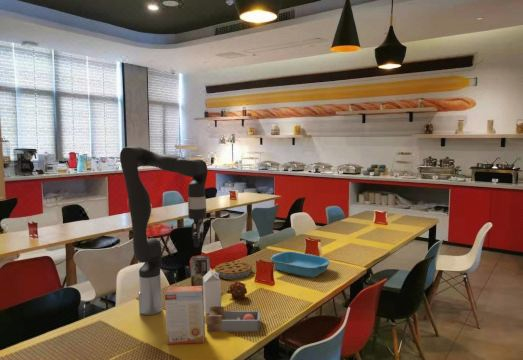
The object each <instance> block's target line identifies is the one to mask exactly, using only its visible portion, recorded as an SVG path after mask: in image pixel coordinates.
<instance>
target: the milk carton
mask: <svg viewBox="0 0 523 360" xmlns="http://www.w3.org/2000/svg"><path fill="white" fill-rule="evenodd" d="M218 275H219V274H218V273H217V272H215V271H213V270H212V268H211V267H210V271H209V272H208V273H207V274H206V275H204V276H203V296H204V315H209V314H210V307H218V306H222V293H221V292H222V288H221V287H222V284H221V283H222V282H221V277H219V276H218Z"/></svg>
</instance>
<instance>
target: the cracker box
mask: <svg viewBox="0 0 523 360" xmlns="http://www.w3.org/2000/svg"><path fill="white" fill-rule="evenodd" d="M164 301H165V324H166V325H165V326H166V344H167V345H178V344H179V345H180V344H181V345H182V344H183V345H184V344H201V343H202V344H203V343H204V342H205V337H206V329H205V328H206V325H205V323H206V321H205V310H204V296H203V286H191V285H190V286H168V287H166V290H165V292H164Z"/></svg>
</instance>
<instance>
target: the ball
mask: <svg viewBox="0 0 523 360" xmlns="http://www.w3.org/2000/svg"><path fill="white" fill-rule="evenodd" d="M243 320H255V318H254V316H253V315H251V314H246V315H245V316H244V317H243Z"/></svg>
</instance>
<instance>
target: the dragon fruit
mask: <svg viewBox="0 0 523 360" xmlns="http://www.w3.org/2000/svg"><path fill="white" fill-rule="evenodd" d="M226 294H230V295H231V298H232V299H237V300H241V299H242V298H243V299H244V298H245V296H246V294H248V291H247V288H246V285H245V283H244V282H241V281H237V280H236V281H235V282H234V283H231V284H229V287H228V288H227V290H226Z"/></svg>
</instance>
